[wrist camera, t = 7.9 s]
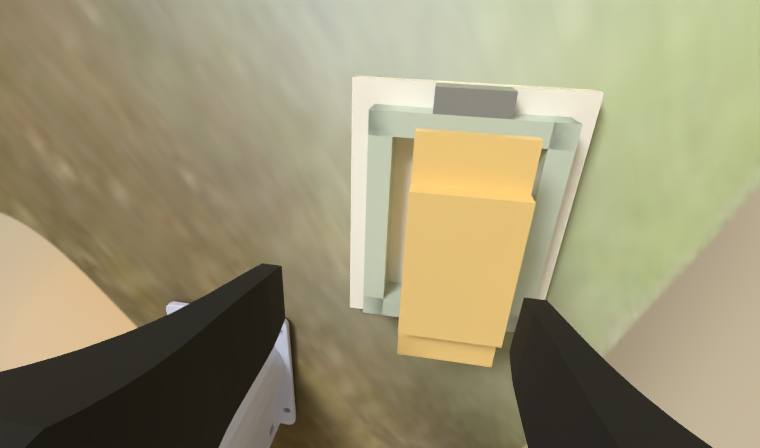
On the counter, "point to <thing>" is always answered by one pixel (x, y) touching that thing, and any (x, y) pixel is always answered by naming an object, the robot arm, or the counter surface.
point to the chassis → (468, 114)
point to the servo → (464, 242)
